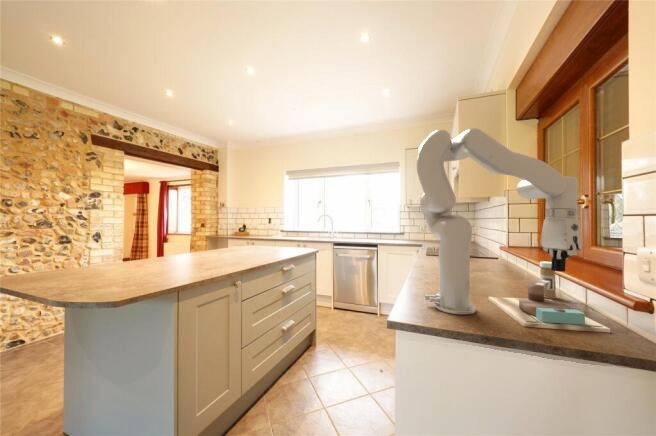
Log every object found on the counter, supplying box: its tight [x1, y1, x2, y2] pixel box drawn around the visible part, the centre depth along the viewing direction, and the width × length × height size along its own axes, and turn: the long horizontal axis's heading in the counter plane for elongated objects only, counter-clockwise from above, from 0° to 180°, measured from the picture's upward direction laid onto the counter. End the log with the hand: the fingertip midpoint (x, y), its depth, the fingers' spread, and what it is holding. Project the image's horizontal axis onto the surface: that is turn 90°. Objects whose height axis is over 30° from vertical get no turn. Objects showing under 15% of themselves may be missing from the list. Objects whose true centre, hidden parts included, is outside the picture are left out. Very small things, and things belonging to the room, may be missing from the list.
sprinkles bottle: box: [539, 261, 557, 300], centre depth 98 cm, size 5×5×14 cm
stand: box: [488, 296, 612, 333], centre depth 82 cm, size 20×25×1 cm
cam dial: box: [519, 278, 571, 315], centre depth 84 cm, size 22×16×7 cm
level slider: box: [536, 308, 586, 325], centre depth 72 cm, size 10×3×3 cm, turn 78°
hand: (558, 270), depth 84 cm, fingers closed
